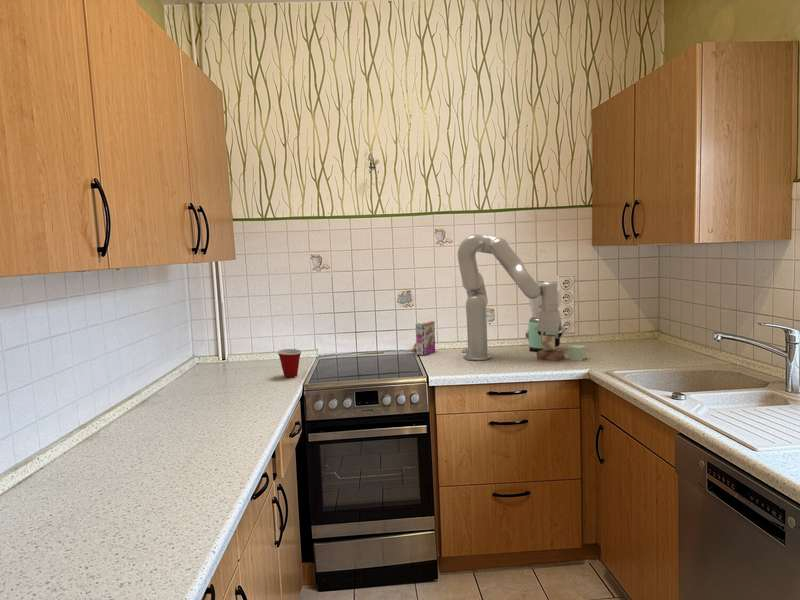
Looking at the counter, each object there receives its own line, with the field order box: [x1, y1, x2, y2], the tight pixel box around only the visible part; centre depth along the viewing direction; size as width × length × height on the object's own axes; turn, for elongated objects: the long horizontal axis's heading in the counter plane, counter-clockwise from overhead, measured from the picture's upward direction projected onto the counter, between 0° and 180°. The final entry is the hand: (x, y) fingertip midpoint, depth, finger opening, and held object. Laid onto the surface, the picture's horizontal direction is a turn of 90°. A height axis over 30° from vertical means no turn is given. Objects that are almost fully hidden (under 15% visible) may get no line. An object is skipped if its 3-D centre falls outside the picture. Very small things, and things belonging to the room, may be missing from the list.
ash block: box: [542, 334, 560, 349], centre depth 282 cm, size 6×6×6 cm
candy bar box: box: [415, 320, 436, 356], centre depth 307 cm, size 11×5×16 cm, turn 144°
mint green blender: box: [525, 280, 562, 352], centre depth 301 cm, size 19×13×35 cm
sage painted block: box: [567, 344, 587, 362], centre depth 279 cm, size 6×6×6 cm
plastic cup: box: [277, 348, 303, 378], centre depth 269 cm, size 11×11×12 cm
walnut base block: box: [536, 348, 565, 362], centre depth 282 cm, size 10×10×4 cm
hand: (550, 345), depth 282 cm, fingers closed on ash block, 6 cm apart
